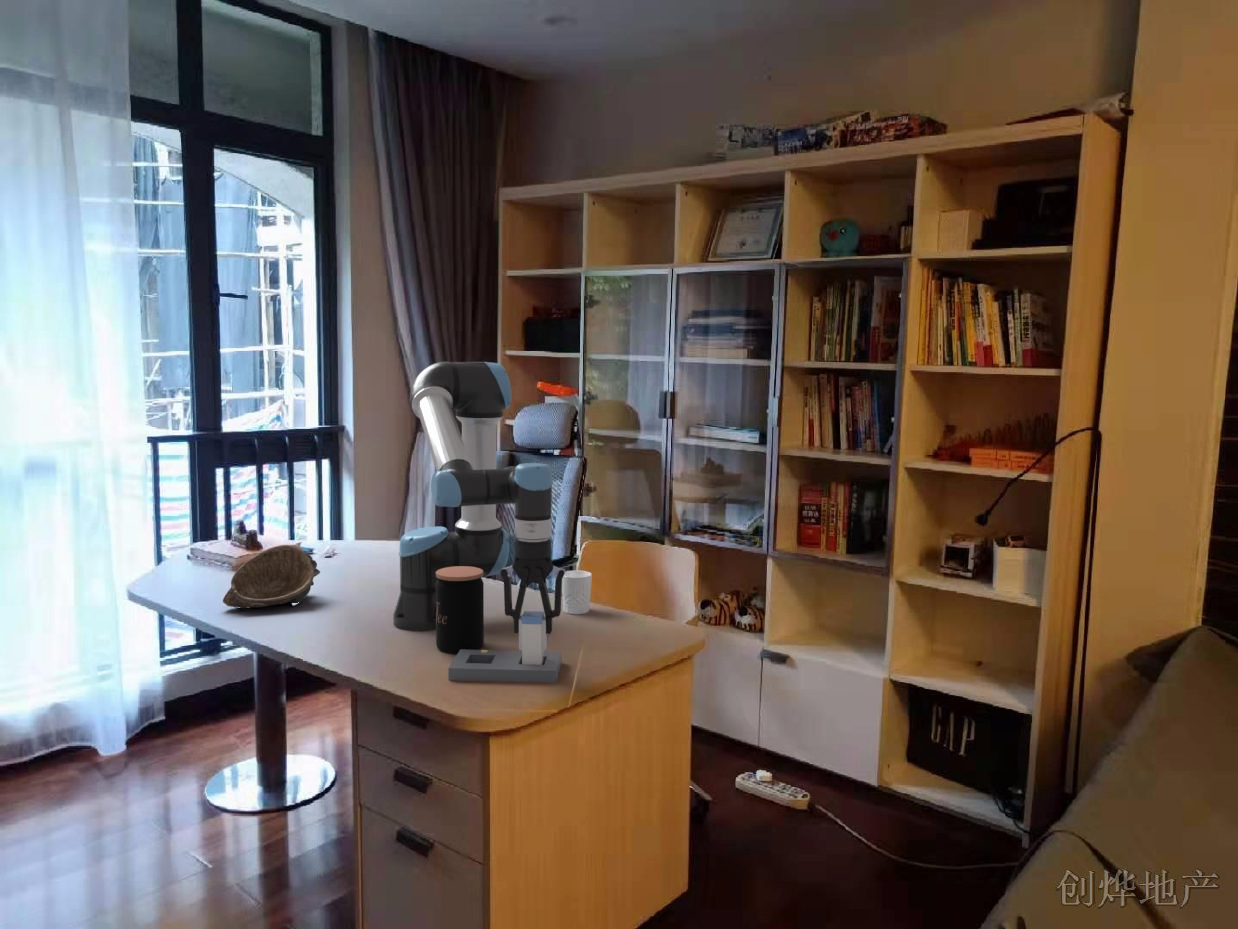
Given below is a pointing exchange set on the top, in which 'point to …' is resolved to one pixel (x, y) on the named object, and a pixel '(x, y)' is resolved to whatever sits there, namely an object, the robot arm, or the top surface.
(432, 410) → the robot arm
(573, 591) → the white cup
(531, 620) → the milk carton
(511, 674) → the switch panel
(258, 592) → the coconut shell half
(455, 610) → the coffee jar
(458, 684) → the top surface
